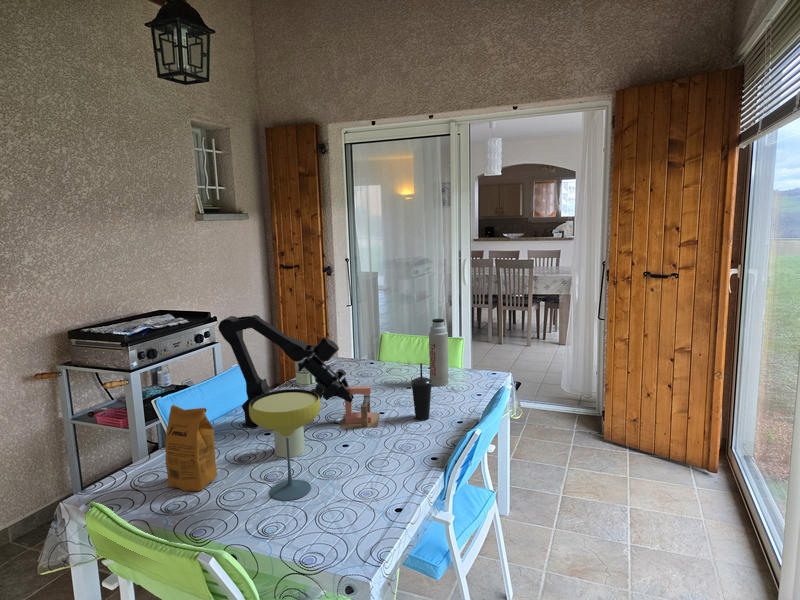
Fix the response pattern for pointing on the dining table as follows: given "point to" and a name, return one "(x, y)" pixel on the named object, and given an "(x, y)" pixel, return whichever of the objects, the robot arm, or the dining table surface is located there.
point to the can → (290, 443)
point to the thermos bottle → (438, 353)
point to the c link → (351, 416)
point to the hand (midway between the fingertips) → (352, 400)
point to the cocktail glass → (286, 428)
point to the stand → (363, 417)
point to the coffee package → (190, 449)
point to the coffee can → (304, 375)
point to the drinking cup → (421, 396)
